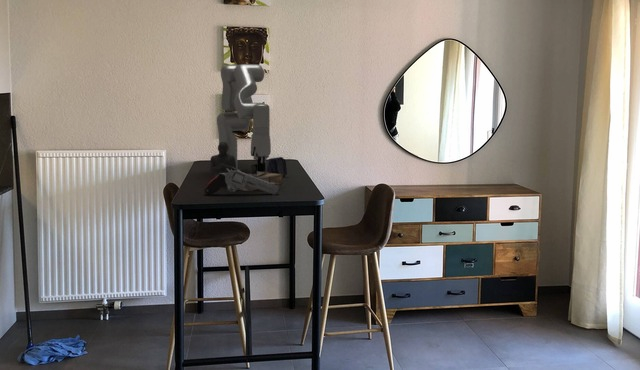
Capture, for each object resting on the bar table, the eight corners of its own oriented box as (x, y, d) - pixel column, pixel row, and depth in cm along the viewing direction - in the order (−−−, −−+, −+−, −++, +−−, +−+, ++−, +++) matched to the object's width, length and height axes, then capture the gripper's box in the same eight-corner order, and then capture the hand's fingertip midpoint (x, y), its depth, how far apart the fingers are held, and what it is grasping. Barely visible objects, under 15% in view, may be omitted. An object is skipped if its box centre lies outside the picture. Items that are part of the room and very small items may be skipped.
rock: (274, 179, 340) (274, 158, 339) (266, 178, 344) (266, 157, 342) (288, 177, 348) (288, 156, 347) (280, 176, 351) (280, 156, 350)
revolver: (203, 191, 295) (216, 159, 293) (267, 215, 299) (280, 184, 297) (203, 192, 291) (216, 160, 290) (267, 217, 295) (280, 185, 294)
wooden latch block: (224, 188, 310) (224, 177, 309) (258, 181, 332) (258, 171, 332) (249, 191, 303) (249, 180, 302) (282, 183, 325) (282, 173, 324)
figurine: (209, 185, 318) (208, 142, 315) (211, 183, 325) (210, 141, 322) (235, 185, 318) (235, 142, 315) (237, 183, 326) (236, 141, 323)
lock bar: (260, 173, 326) (260, 160, 325) (266, 173, 325) (266, 160, 325) (250, 177, 312) (249, 164, 311) (256, 177, 311) (256, 164, 310)
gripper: (263, 129, 318) (263, 169, 321) (244, 132, 305) (245, 172, 308) (277, 130, 314) (277, 170, 317) (258, 133, 301) (258, 174, 304)
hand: (261, 171), depth 312 cm, fingers closed
